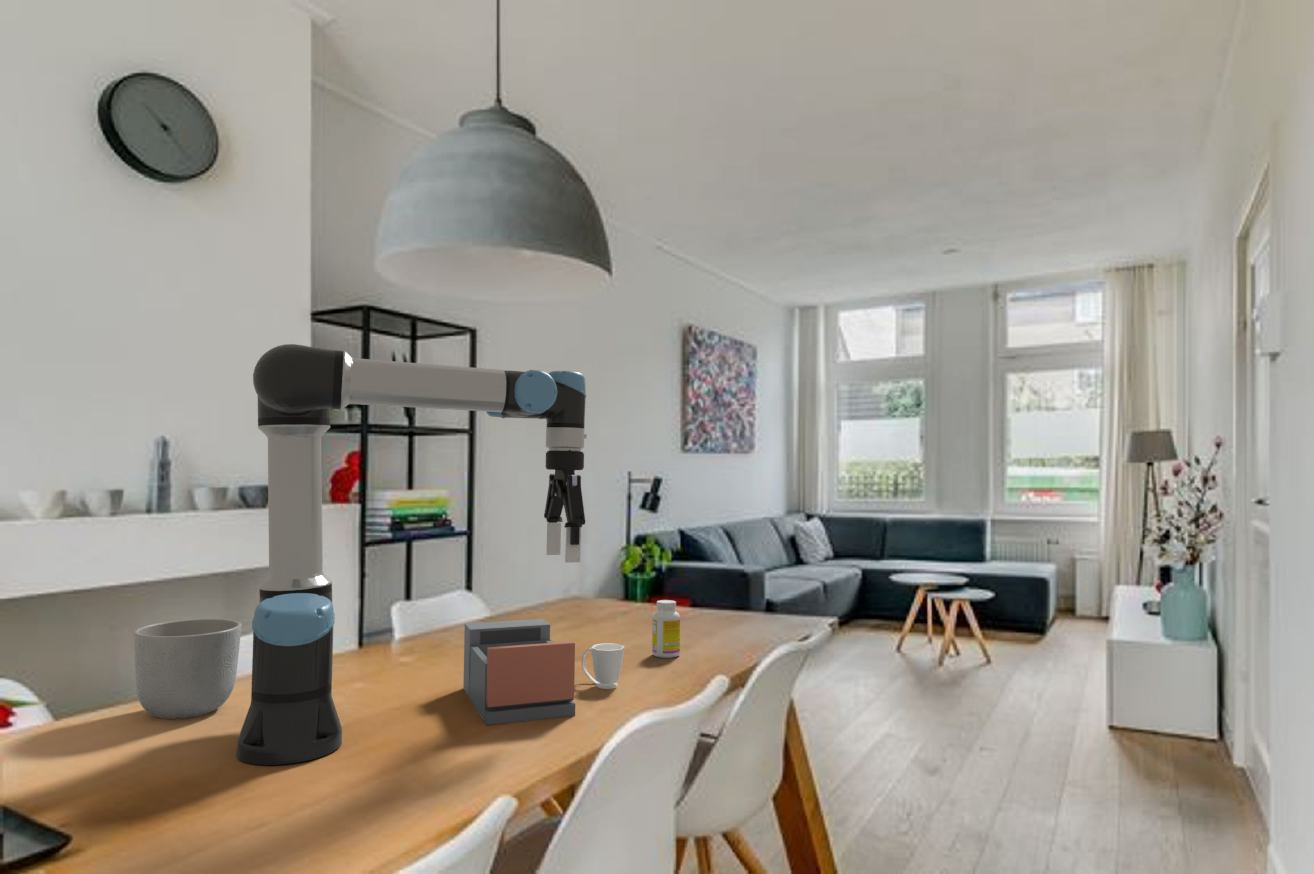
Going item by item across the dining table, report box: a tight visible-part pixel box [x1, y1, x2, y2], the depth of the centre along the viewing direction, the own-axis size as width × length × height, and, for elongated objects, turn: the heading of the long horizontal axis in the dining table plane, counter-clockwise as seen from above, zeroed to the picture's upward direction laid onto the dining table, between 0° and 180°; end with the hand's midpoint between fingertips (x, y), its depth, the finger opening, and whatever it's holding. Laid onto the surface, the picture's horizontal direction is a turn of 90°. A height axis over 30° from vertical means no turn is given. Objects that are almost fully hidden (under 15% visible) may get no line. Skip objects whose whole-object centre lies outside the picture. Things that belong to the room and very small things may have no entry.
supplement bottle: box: [651, 599, 681, 659], centre depth 195 cm, size 7×7×13 cm
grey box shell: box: [462, 618, 551, 698], centre depth 164 cm, size 16×7×13 cm, turn 112°
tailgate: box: [486, 640, 576, 709], centre depth 145 cm, size 16×2×10 cm, turn 112°
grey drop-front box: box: [468, 639, 576, 726], centre depth 153 cm, size 16×18×10 cm
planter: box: [132, 618, 243, 720], centre depth 147 cm, size 17×17×15 cm
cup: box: [581, 642, 625, 690], centre depth 168 cm, size 7×10×8 cm
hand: (562, 558), depth 159 cm, fingers open, 13 cm apart
